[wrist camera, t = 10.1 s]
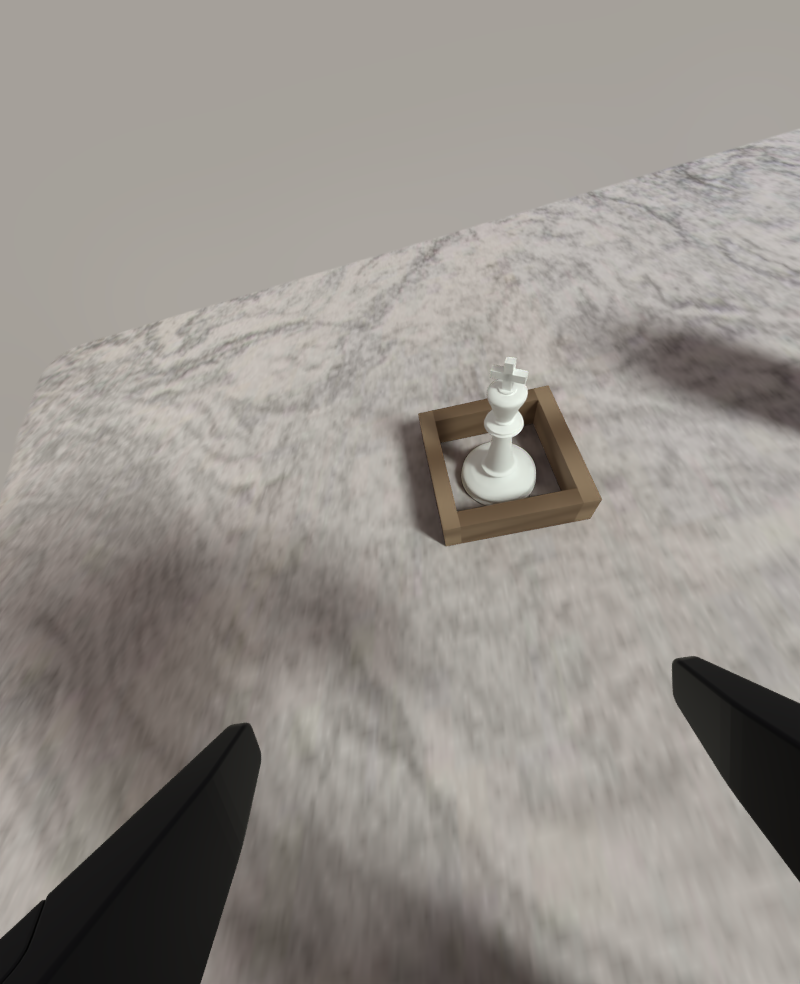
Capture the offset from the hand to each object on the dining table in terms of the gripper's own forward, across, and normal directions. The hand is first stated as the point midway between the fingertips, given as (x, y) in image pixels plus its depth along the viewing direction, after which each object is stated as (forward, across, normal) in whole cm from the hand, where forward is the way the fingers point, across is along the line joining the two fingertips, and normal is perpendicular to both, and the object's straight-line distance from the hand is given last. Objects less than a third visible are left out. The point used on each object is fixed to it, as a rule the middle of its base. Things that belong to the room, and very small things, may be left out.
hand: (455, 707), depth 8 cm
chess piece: (+19, -5, 0) cm, 20 cm away
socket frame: (+19, -5, 0) cm, 20 cm away
